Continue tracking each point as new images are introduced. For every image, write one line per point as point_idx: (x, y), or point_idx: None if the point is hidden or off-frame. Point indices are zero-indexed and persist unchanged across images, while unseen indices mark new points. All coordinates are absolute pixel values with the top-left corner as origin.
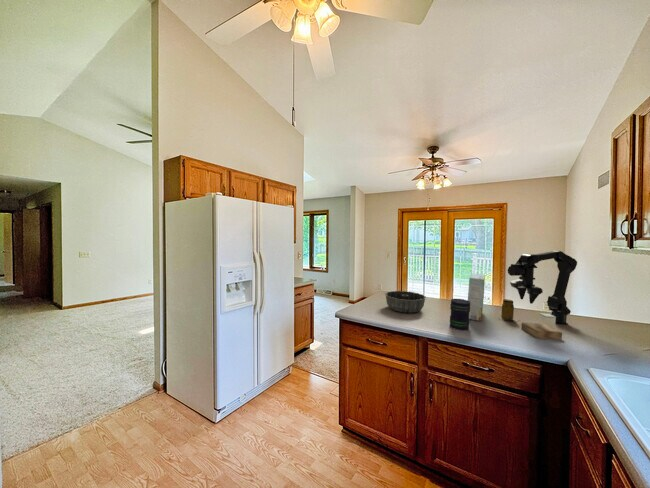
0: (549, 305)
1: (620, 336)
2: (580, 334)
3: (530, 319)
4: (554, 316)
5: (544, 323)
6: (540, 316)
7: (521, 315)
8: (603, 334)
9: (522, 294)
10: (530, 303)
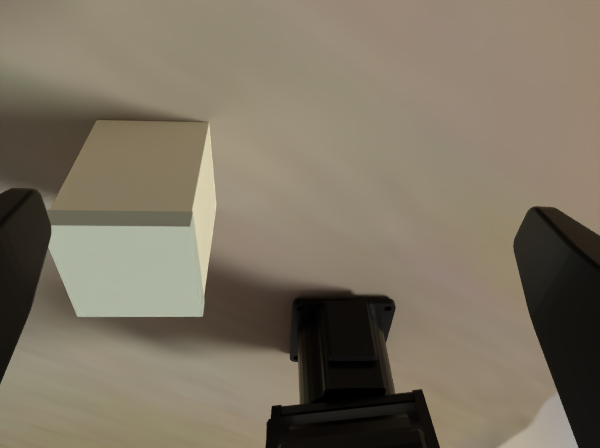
0: (389, 438)
1: (118, 444)
2: (43, 305)
3: (423, 155)
4: (82, 308)
5: (99, 152)
6: (177, 198)
7: (578, 143)
8: (120, 406)
9: (598, 370)
10: (13, 188)
